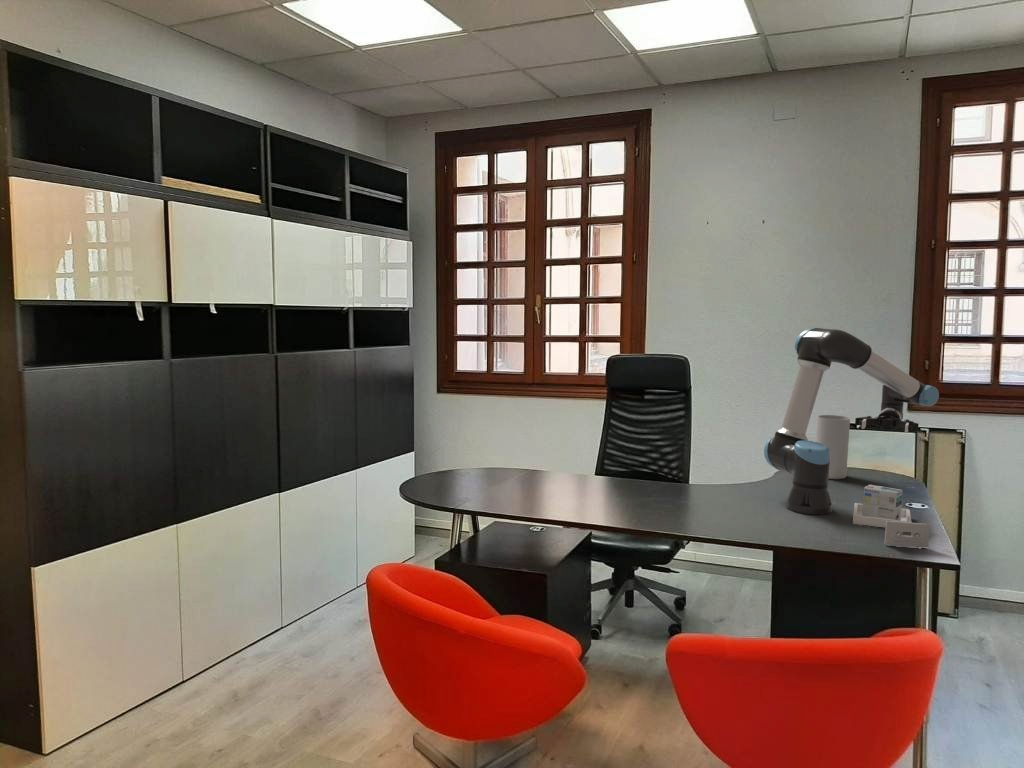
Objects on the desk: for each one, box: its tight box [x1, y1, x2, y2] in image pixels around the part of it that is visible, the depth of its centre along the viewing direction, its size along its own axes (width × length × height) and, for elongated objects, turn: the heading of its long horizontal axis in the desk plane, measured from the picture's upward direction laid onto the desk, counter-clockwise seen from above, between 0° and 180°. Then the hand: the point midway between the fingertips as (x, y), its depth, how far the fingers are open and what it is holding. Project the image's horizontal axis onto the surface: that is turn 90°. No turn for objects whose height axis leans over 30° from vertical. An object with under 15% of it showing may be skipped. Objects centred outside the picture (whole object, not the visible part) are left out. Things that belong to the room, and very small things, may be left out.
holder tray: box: [852, 502, 913, 527], centre depth 249 cm, size 17×17×3 cm
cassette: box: [883, 521, 931, 548], centre depth 223 cm, size 12×2×8 cm, turn 77°
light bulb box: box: [862, 484, 903, 520], centre depth 249 cm, size 11×7×11 cm, turn 47°
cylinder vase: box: [815, 414, 851, 480], centre depth 311 cm, size 12×12×25 cm
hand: (884, 427), depth 259 cm, fingers open, 13 cm apart
